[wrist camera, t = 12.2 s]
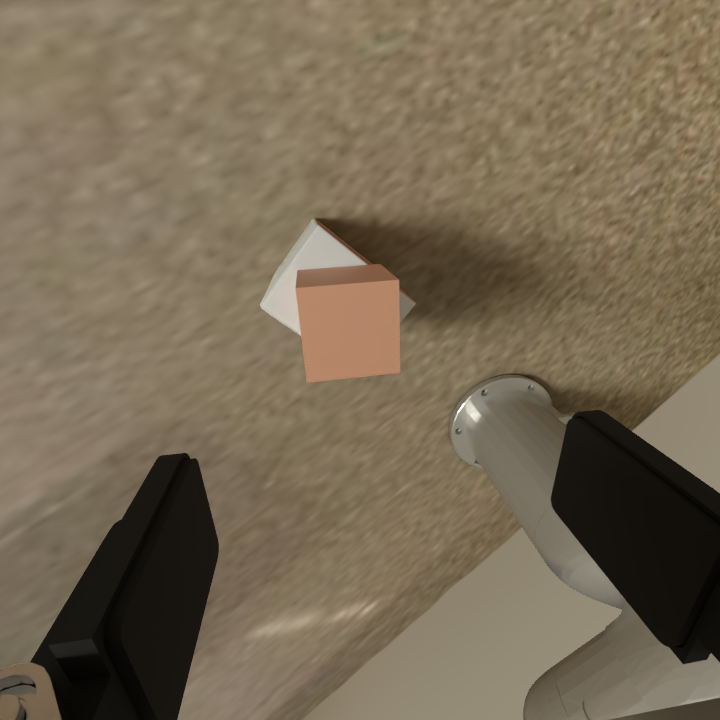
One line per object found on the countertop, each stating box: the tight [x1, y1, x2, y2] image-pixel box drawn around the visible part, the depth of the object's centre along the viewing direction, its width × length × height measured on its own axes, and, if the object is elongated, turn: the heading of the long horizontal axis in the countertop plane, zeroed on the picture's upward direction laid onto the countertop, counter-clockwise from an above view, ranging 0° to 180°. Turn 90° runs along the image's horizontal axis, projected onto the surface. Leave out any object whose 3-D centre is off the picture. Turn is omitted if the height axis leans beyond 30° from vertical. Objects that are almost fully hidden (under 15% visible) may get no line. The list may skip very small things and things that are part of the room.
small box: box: [260, 218, 416, 336], centre depth 29 cm, size 8×6×13 cm
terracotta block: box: [295, 264, 400, 383], centre depth 21 cm, size 5×5×5 cm
